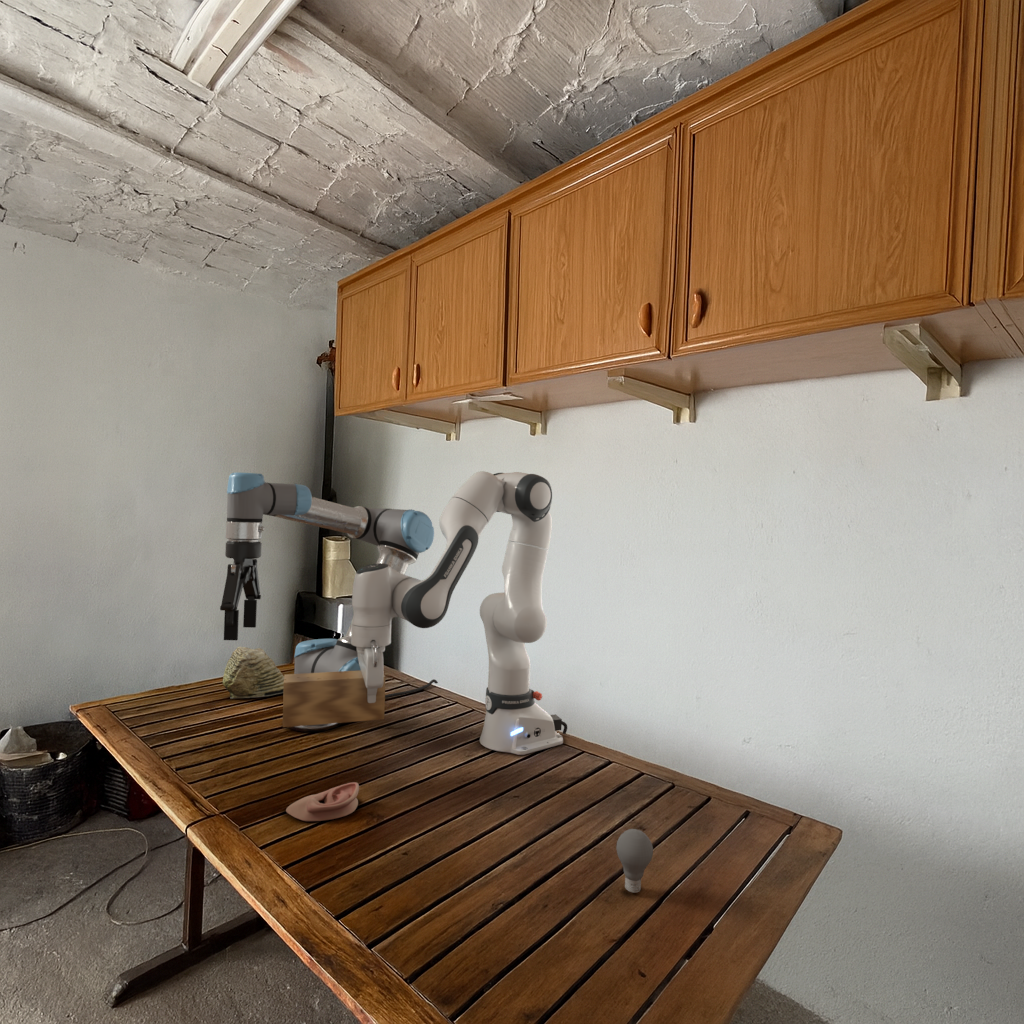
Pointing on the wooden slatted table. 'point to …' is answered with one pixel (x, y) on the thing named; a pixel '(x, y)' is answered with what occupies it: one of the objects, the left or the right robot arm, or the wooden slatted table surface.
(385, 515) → the left robot arm
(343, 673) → the box
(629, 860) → the light bulb
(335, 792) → the anatomical model
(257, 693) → the fossil
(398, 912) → the wooden slatted table surface
